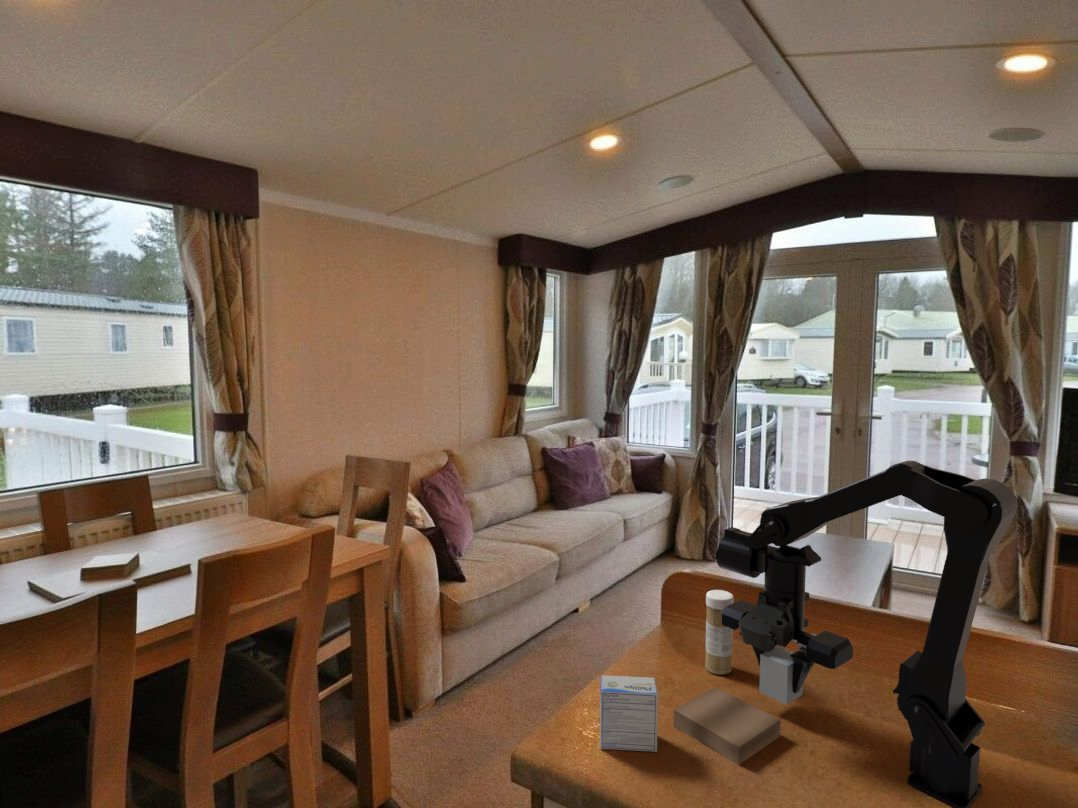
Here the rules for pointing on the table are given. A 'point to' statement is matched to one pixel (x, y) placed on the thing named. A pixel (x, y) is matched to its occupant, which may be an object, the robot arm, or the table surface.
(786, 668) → the grey block
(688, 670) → the table surface
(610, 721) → the medicine box
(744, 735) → the brown flat block
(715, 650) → the sprinkles bottle
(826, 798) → the table surface
